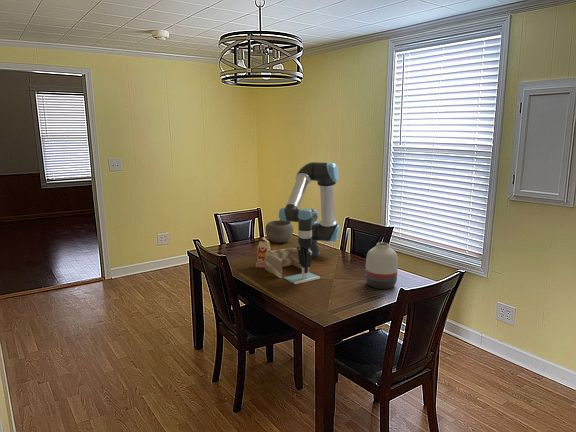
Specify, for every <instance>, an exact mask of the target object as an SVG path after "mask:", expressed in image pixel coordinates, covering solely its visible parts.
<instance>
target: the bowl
mask: <svg viewBox="0 0 576 432" xmlns="http://www.w3.org/2000/svg"><path fill="white" fill-rule="evenodd" d="M265 235H266V237H267V239H268V240H270V241H271V242H272V243H274V244H275V243H276V244H283V243H287V242H288V241H289V240H290V239H291V238H292V236H293V235H294V227H293V224H292V222H289V221H281V220H280V219H279V220H278V219H277V220H271V221H268V222H267V223H266V225H265Z"/></svg>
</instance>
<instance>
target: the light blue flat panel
mask: <svg viewBox="0 0 576 432" xmlns="http://www.w3.org/2000/svg"><path fill="white" fill-rule="evenodd" d="M281 279H284V280H286V281H288V282H289V283H291V284H293V285H298V284H303V283H307V282H311V281H316V280H320V279H321V276H319V275H316V274H315V273H311V272H310V271H309V272H308V273H307V278H305V279H303V278H302V272H300V273H297V274H292V275H288V276H282V278H281Z"/></svg>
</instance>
